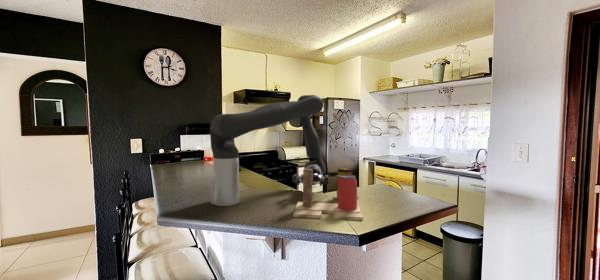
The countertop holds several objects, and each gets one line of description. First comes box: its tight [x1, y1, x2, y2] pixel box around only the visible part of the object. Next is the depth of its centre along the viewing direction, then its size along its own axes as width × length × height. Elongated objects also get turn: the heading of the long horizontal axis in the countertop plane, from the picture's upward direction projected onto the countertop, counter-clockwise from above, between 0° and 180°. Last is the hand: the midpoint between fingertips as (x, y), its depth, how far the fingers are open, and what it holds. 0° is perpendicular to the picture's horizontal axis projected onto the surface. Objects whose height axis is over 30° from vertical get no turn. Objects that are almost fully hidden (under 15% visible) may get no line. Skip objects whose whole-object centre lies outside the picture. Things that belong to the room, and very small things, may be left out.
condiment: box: [333, 167, 359, 200], centre depth 107 cm, size 7×8×12 cm
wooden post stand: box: [294, 168, 362, 215], centre depth 92 cm, size 22×8×14 cm, turn 83°
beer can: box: [337, 174, 358, 211], centre depth 91 cm, size 7×7×12 cm
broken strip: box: [292, 209, 364, 221], centre depth 85 cm, size 22×4×1 cm, turn 83°
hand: (309, 182), depth 98 cm, fingers open, 8 cm apart
